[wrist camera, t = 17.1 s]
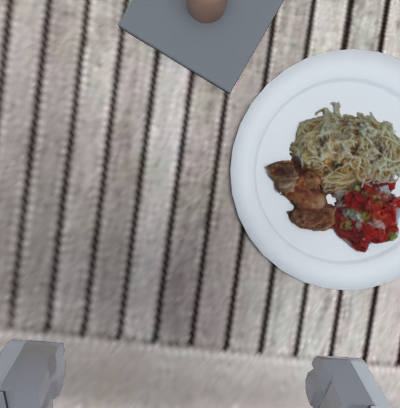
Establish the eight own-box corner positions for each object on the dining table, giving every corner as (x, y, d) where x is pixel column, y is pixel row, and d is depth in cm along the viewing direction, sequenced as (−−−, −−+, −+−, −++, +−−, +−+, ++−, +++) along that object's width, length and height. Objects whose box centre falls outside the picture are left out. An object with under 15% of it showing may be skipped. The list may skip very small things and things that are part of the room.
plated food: (315, 8, 39) (327, -9, 36) (500, 142, 41) (527, 138, 37) (183, 203, 40) (182, 204, 37) (368, 328, 41) (384, 340, 38)
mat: (119, 27, 38) (118, 24, 38) (183, -87, 38) (183, -92, 37) (229, 93, 39) (229, 92, 39) (293, -18, 39) (295, -21, 38)
